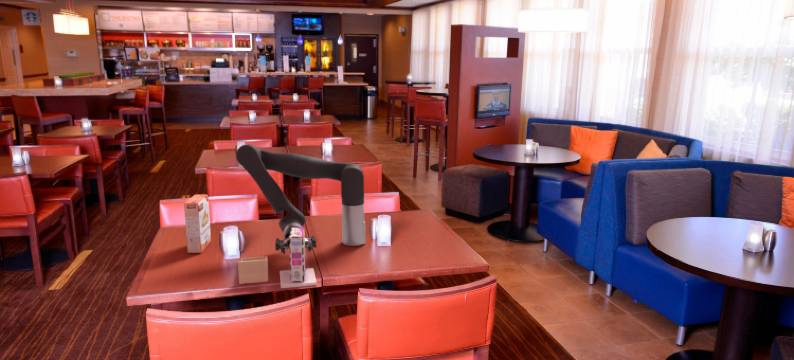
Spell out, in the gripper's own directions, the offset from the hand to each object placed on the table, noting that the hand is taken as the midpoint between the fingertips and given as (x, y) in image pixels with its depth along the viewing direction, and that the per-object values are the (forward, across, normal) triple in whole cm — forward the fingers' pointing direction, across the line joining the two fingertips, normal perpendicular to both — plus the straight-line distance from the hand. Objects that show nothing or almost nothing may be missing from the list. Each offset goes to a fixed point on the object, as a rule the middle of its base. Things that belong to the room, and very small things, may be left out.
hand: (296, 250), depth 184 cm
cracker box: (-43, -37, +12) cm, 58 cm away
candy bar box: (-2, 0, +11) cm, 11 cm away
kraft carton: (-12, -15, +11) cm, 22 cm away
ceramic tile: (-2, 0, +12) cm, 12 cm away
